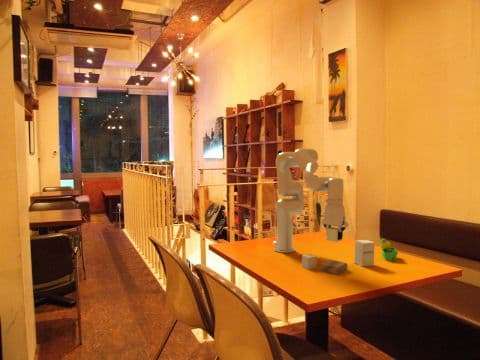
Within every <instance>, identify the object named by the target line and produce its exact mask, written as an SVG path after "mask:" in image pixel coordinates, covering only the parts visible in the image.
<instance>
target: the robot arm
mask: <svg viewBox="0 0 480 360" xmlns="http://www.w3.org/2000/svg"><path fill="white" fill-rule="evenodd" d="M318 159H319V155H318V152H317V151H316V150H315V149H314V148H297V149H295V151H282V152H280V153H278V154H277V156H276V158H275V169H276V173H277V193H278V195H279V196H281V197H292V198H281V199H278V200H277V201H276V203H275V212H276V241H272V246H274V247H273V250H274V251H275V252H276V253H285V254H286V253H288V254H289V253H294V252H295V251H296V249H295V247H293V239H294V238H293V231H294V228H293V227H294V226H293V224H294V222H293V219H292V217H291V215H297V214H298V215H299V214H301V213H302V212H303V211H304V199H305V198H304V197H305V196H304V187H303V184H302V182H301V181H300V180H293V177H292V176H293V175H292V171H291V170H290V168H289V167H299V168H301V169H302V171H303V181H304V182H305V184H306V185H307V187H308V188H309V189H310V190H311V191H313V192H315V193H317V192H319V193H321V192H327V198H326V199H325V202H326V203H327V204H326V205H325V207H324V214H323V219H322V220H321V221H320V223H321V224H322V226H323V227H324V229H325V230H326V231H327V228H330V227H337V228H338V229H339V232H338V240H341V239H342V240H343V236H344V235H343V234H344V231H345V230H346V229H348V228H349V223H348V221H347V220H346V210H345V206H344V179H343V178H339V177H332V176H316V175H315V173H316V172H317V170H318V169H319V163H318V162H317V161H318ZM342 240H341V241H342Z"/></svg>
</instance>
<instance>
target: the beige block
mask: <svg viewBox="0 0 480 360" xmlns="http://www.w3.org/2000/svg"><path fill="white" fill-rule="evenodd" d="M338 232H339V229H338V226H331V227H330V228H327V230H326V241H329V242H335V243H336V242H337V243H338V242H340V241H341V242H342V241H343V238H342V239H341V240H338Z"/></svg>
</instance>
